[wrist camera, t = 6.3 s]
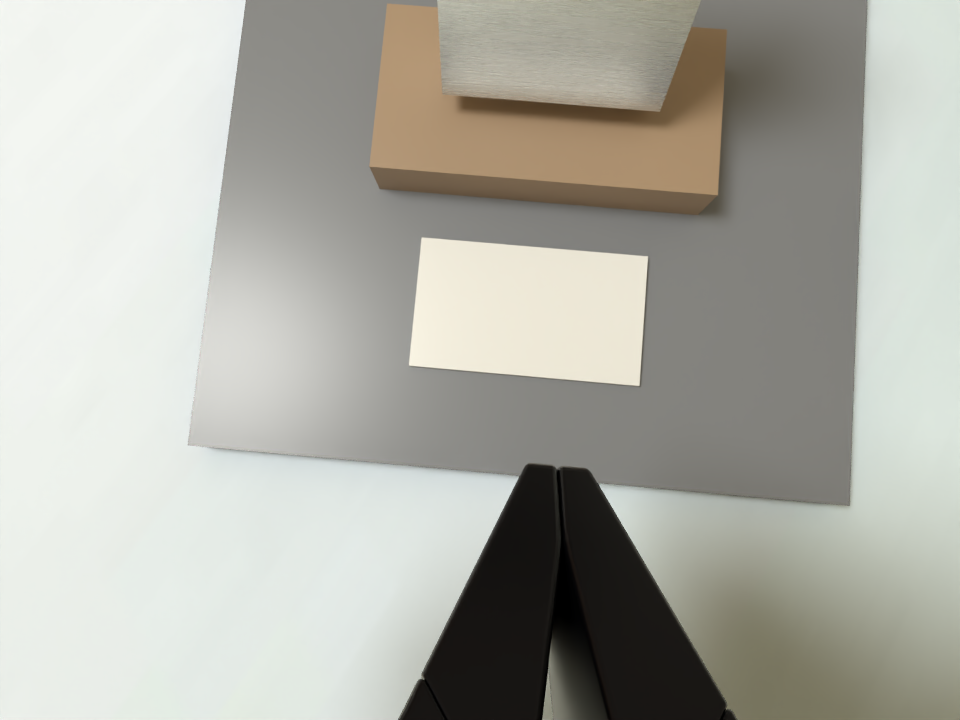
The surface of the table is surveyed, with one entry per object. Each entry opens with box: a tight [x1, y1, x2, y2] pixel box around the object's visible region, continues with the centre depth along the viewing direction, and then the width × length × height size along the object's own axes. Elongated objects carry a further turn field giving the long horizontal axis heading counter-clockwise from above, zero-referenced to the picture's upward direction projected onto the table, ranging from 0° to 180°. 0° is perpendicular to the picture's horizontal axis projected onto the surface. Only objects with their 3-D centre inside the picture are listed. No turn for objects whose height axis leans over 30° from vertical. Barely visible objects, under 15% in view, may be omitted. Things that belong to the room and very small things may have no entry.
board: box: [188, 0, 867, 506], centre depth 20 cm, size 18×20×3 cm
